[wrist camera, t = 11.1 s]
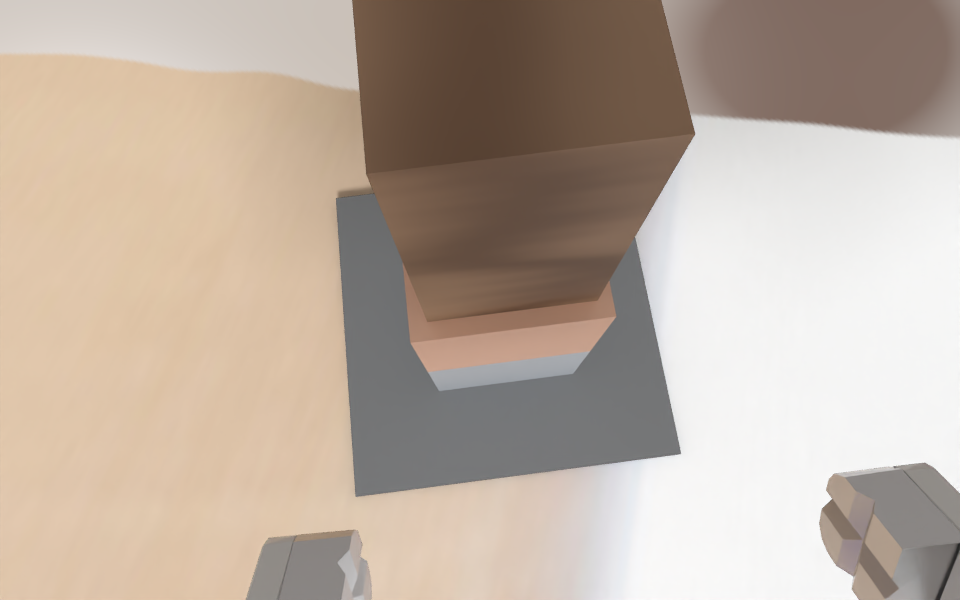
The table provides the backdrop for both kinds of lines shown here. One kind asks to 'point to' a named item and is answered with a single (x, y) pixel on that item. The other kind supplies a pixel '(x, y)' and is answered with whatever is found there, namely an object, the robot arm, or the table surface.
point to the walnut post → (516, 142)
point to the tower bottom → (507, 371)
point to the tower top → (507, 332)
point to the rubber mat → (489, 408)
